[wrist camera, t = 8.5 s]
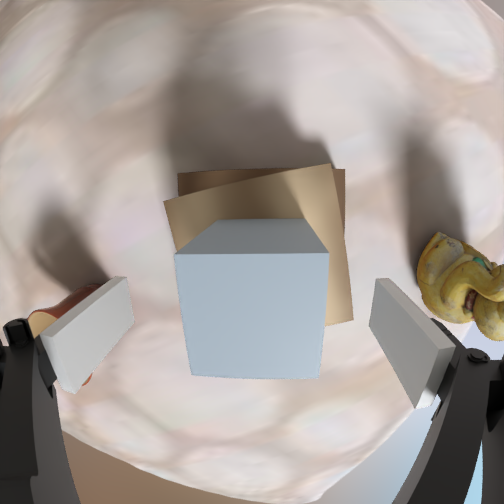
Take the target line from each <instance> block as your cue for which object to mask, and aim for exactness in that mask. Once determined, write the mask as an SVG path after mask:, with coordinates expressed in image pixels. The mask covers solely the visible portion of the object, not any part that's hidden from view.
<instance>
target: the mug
mask: <svg viewBox="0 0 504 504" xmlns="http://www.w3.org/2000/svg"><path fill="white" fill-rule="evenodd" d="M101 286H103V285H100V284H90V285H88V286H85V287H81V288H79V289H77V290H76V291H75V292H73V293H72V294H70V295H69V296H68V297H66V298H65V299H64V300H62V301H61V302H60V303H59V304H57V305H55V306H53V307H49V308H44V309H38V310H35V311H33V312H32V313H31V314H30V315H29V317H28V318H27V320H28V322H29V325H30V328H31V331H32V334H33V337H34V338H35V337H36V336H38V335H39V334H40V333H41V332H43V331H44V330H45V329H46V328H47V327H49V326H50V325H51V324H52V323H54V322H55V321H56V320H58V319H59V318H60V317H61V316H63V315H64V314H65V313H67V312H68V311H69V310H71V309H72V308H73V307H74V306H76V305H77V304H78V303H80V302H81V301H82V300H84V299H85V298H86V297H88V296H89V295H90V294H92V293H93V292H94V291H96V290H97V289H99V288H100V287H101ZM92 373H93V372H92ZM91 376H92V374H91V375H90V376H89V377H88V378H87V380H86V381H85V382H84V383H83V385H82V386H84V385H86V384H87V383H88V382H89V381H90V379H91Z"/></svg>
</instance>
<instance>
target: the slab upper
mask: <svg viewBox="0 0 504 504" xmlns="http://www.w3.org/2000/svg"><path fill="white" fill-rule="evenodd" d="M163 202H164V206H165V210H166V213H167V217H168V221H169V225H170V229H171V232H172V236H173V239H174V243H175V247H176V250H177V252H178V251H179V250H180V249H181V248H183V247H184V246H185V245H186V244H188V243H189V242H190V241H191V240H193V239H194V238H195V237H196V236H198V235H199V234H200V233H202V232H203V231H204V230H205V229H207V228H208V227H209V226H210V225H212V224H213V223H214V222H216V221H217V220H228V219H288V218H305V219H306V220H307V222H308V223H309V225H310V226H311V227H312V229H313V230H314V232H315V233H316V234H317V236H318V237H319V239H320V240H321V242H322V243H323V245H324V246H325V247H326V249H327V250H328V252H329V272H328V289H327V303H326V315H325V326H329V325H334V324H338V323H343V322H347V321H351V320H354V319H353V307H352V297H351V287H350V278H349V269H348V261H347V254H346V247H345V240H344V233H343V226H342V220H341V214H340V208H339V203H338V197H337V192H336V187H335V182H334V177H333V172H332V167H331V163H328V164H322V165H316V166H311V167H306V168H300V169H295V170H290V171H285V172H280V173H275V174H271V175H266V176H261V177H257V178H252V179H248V180H243V181H239V182H235V183H231V184H227V185H222V186H218V187H214V188H210V189H207V190H203V191H199V192H195V193H191V194H188V195H184V196H180V197H177V198H173V199H170V200H166V201H163Z"/></svg>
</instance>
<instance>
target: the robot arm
mask: <svg viewBox="0 0 504 504" xmlns="http://www.w3.org/2000/svg"><path fill="white" fill-rule="evenodd" d="M134 322H135V320H134V315H133V310H132V305H131V299H130V294H129V288H128V282H127V277H118V276H115V277H114V278H112V279H111V280H110V281H108V282H107V283H105V284H104V285H103V286H101V287H100V288H99V289H97V290H96V291H94V292H93V293H92V294H90V295H89V296H88V297H86V298H85V299H84V300H82V301H81V302H80V303H78V304H77V305H76V306H74V307H73V308H72V309H71V310H69V311H68V312H67V313H65V314H64V315H63V316H61V317H60V318H59V319H58V320H56V321H55V322H54V323H52V324H51V325H50V326H49V327H47V328H46V329H45V330H44V331H43V332H41V333H40V334H39V335H38V336H36V337H35V338H34V337H33V334H32V331H31V328H30V325H29V322H28V320H27V319H23V318H20V319H15V320H12V321H10V322H8V323H7V324H5V325H4V327H3V331H4V333H5V336H6V339H7V341H8V344H9V346H3V344H2V342H1V339H0V504H81V503H80V500H79V497H78V494H77V492H76V488H75V485H74V481H73V478H72V474H71V471H70V467H69V463H68V459H67V455H66V451H65V446H64V441H63V436H62V430H61V425H60V418H59V412H58V404H57V396H56V389H55V387H54V385H53V383H54V382H55V380H56V379H57V380H58V382H59V384H60V386H61V388H62V390H65V391H68V392H71V393H74V394H76V392H77V391H78V390H79V388H80V387H81V386H82V385H83V383H84V382H85V381H86V380H87V378H88V377H89V376H90V375H91V374H92V372H93V371H94V370H95V369H96V367H97V366H98V365H99V364H100V362H101V361H102V360H103V359H104V358H105V356H106V355H107V354H108V353H109V352H110V350H111V349H112V348H113V347H114V346H115V344H116V343H117V342H118V341H119V340H120V338H121V337H122V336H123V335H124V334H125V333H126V331H127V330H128V329H129V328H130V327H131V326H132V324H133V323H134ZM369 327H370V329H371V330H372V332H373V334H374V336H375V337H376V339H377V341H378V342H379V344H380V346H381V348H382V349H383V351H384V353H385V355H386V356H387V358H388V360H389V362H390V363H391V365H392V367H393V369H394V371H395V372H396V374H397V376H398V378H399V380H400V382H401V383H402V385H403V387H404V389H405V391H406V393H407V395H408V396H409V398H410V400H411V402H412V404H413V406H414V408H415V409H418V408H423V407H427V406H431V405H432V403H433V401H434V399H435V397H436V395H437V394H438V396H439V397H440V399H441V402H440V404H439V405H438V408H437V410H436V411H435V413H434V415H433V417H432V419H431V420H432V424H431V426H430V429H429V432H428V434H427V436H426V439H425V441H424V443H423V446H422V448H421V450H420V452H419V454H418V456H417V459H416V461H415V463H414V465H413V467H412V469H411V471H410V473H409V475H408V476H407V478H406V480H405V482H404V484H403V486H402V487H401V489H400V491H399V493H398V494H397V496H396V498H395V500H394V501H393V503H392V504H464V501H465V498H466V495H467V492H468V489H469V486H470V483H471V480H472V477H473V473H474V470H475V466H476V462H477V458H478V454H479V450H480V446H481V441H482V452H483V483H482V501H481V504H504V355H503V357H502V360H490V357H489V356H488V355H487V354H486V353H485V352H483V351H482V350H479V349H474V348H468V349H466V348H465V347H464V346H463V345H462V343H461V342H460V341H459V340H458V339H457V338H456V337H455V336H454V335H452V333H451V332H450V331H449V330H447V328H446V327H445V326H444V325H443V324H442V323H441V322H439V321H437V320H435V319H433V318H429V317H428V316H427V315H426V314H425V313H424V312H423V311H422V310H421V309H420V308H419V307H418V306H417V305H416V304H415V303H414V302H413V301H412V300H411V299H410V298H409V297H408V296H407V295H406V294H405V293H404V292H403V291H402V290H401V289H400V288H399V287H398V286H397V285H396V284H395V283H394V282H392V281H391V280H390V279H389V278H380V279H376V282H375V290H374V297H373V303H372V309H371V316H370V321H369Z"/></svg>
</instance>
